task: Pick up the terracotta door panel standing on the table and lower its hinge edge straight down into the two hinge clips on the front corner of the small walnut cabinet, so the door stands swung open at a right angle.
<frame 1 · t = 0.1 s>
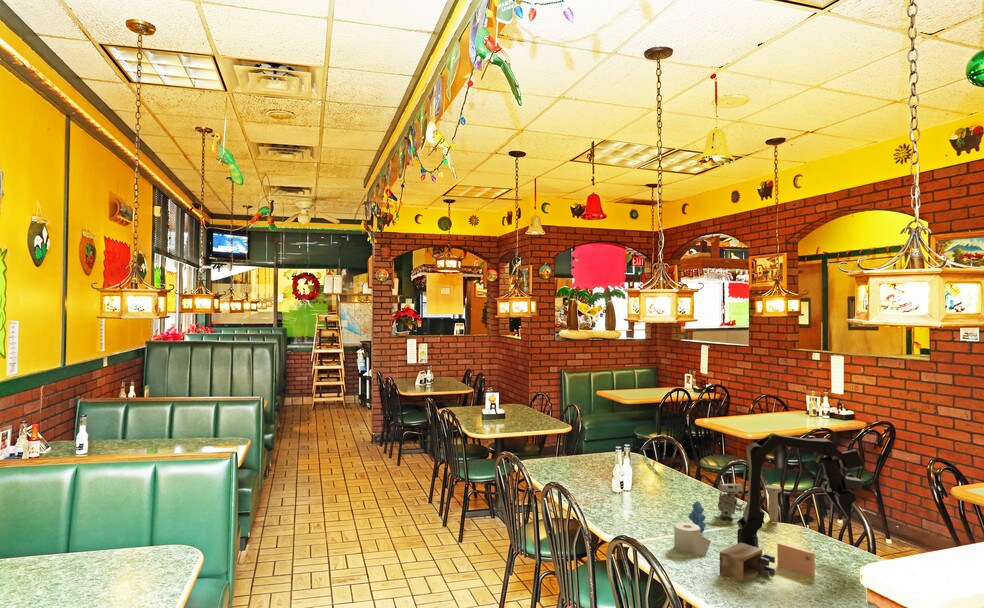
hand: (844, 513, 225), 15 cm above the table, tool pointing down, fingers open, 9 cm apart
handle: (773, 521, 262), on the table
hinge clips: (766, 574, 207), on the table
cabinet: (741, 573, 207), on the table
cabinet door: (795, 570, 211), on the table
toilet tissue: (690, 550, 228), on the table
grapes: (696, 531, 249), on the table
figurine: (731, 518, 266), on the table
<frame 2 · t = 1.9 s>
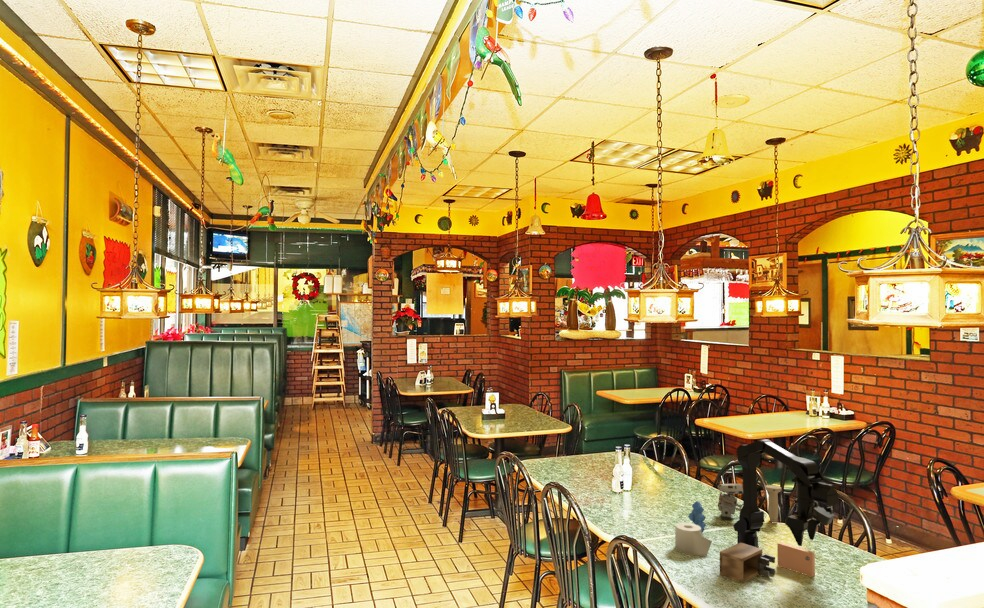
hand: (805, 542, 208), 11 cm above the table, tool pointing down, fingers open, 9 cm apart
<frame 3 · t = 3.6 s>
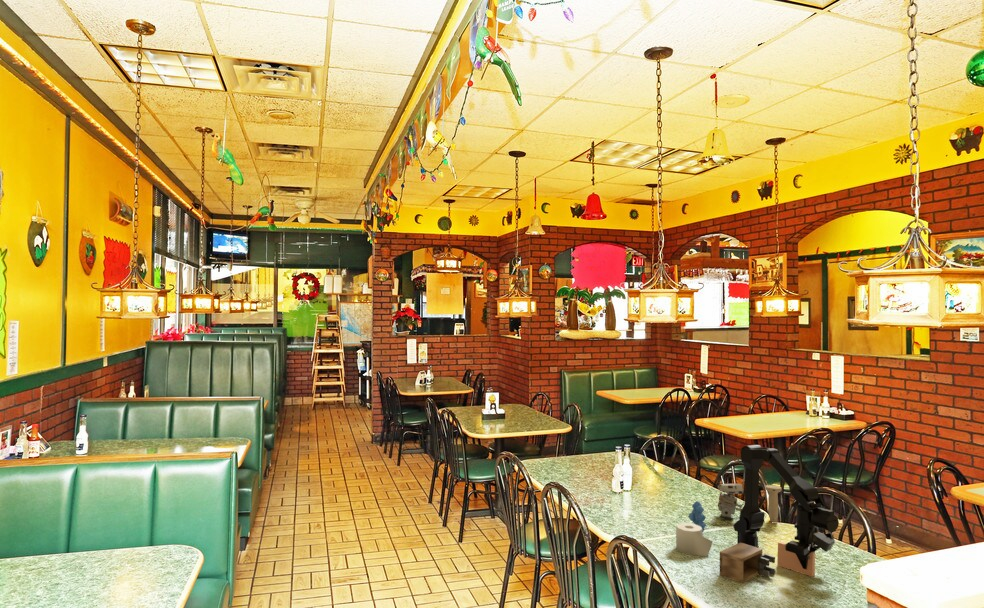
hand: (806, 567, 208), 2 cm above the table, tool pointing down, fingers closed on cabinet door, 2 cm apart
cabinet door: (795, 570, 211), on the table, touching gripper
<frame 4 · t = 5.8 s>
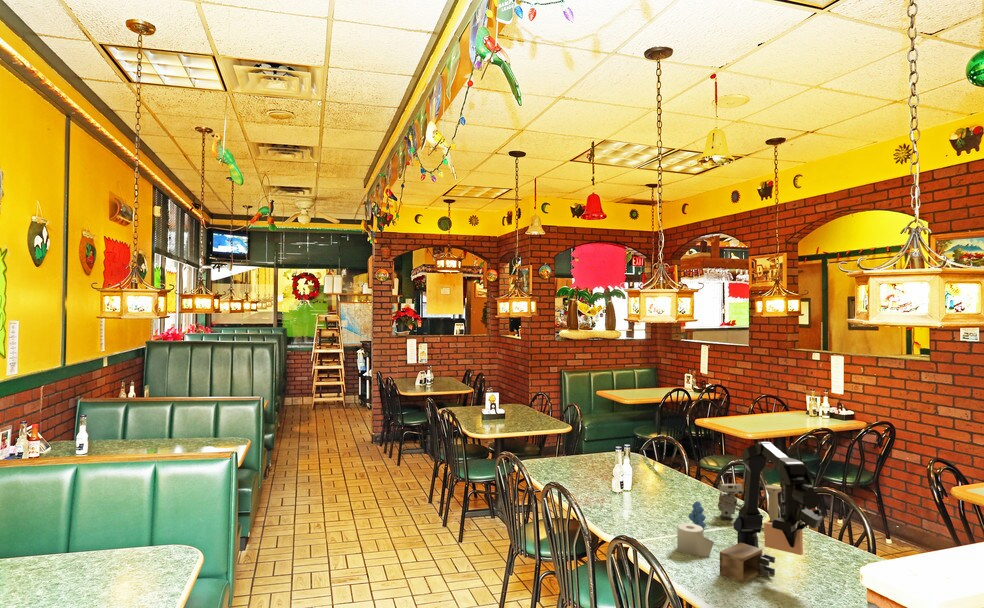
hand: (793, 546, 201), 12 cm above the table, tool pointing down, fingers closed on cabinet door
cabinet door: (783, 550, 203), point 10 cm above the table, tilted 7°, touching gripper
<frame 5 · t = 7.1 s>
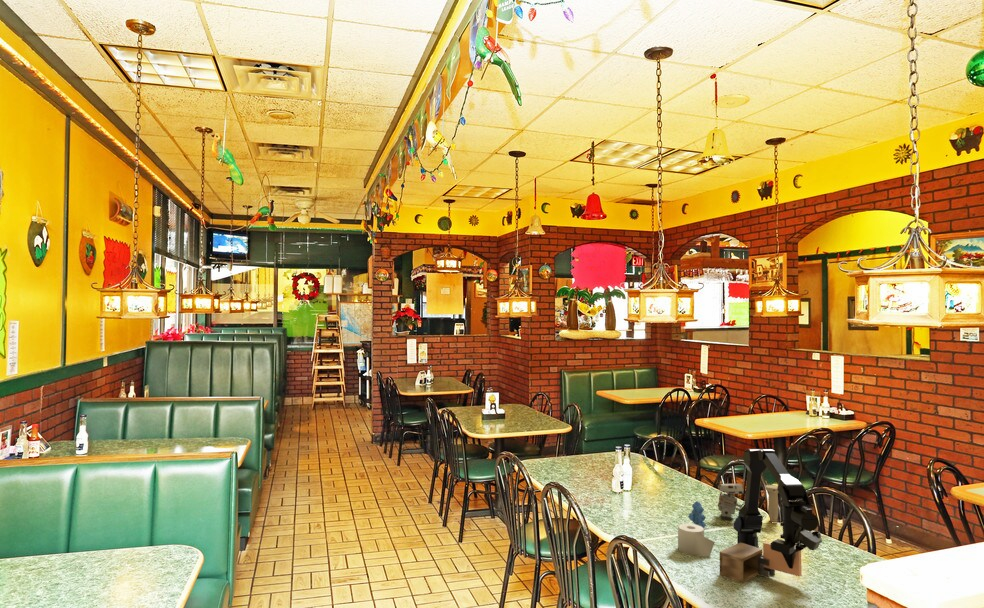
hand: (792, 567, 200), 5 cm above the table, tool pointing down, fingers closed on cabinet door
cabinet door: (782, 571, 203), point 3 cm above the table, tilted 6°, touching gripper
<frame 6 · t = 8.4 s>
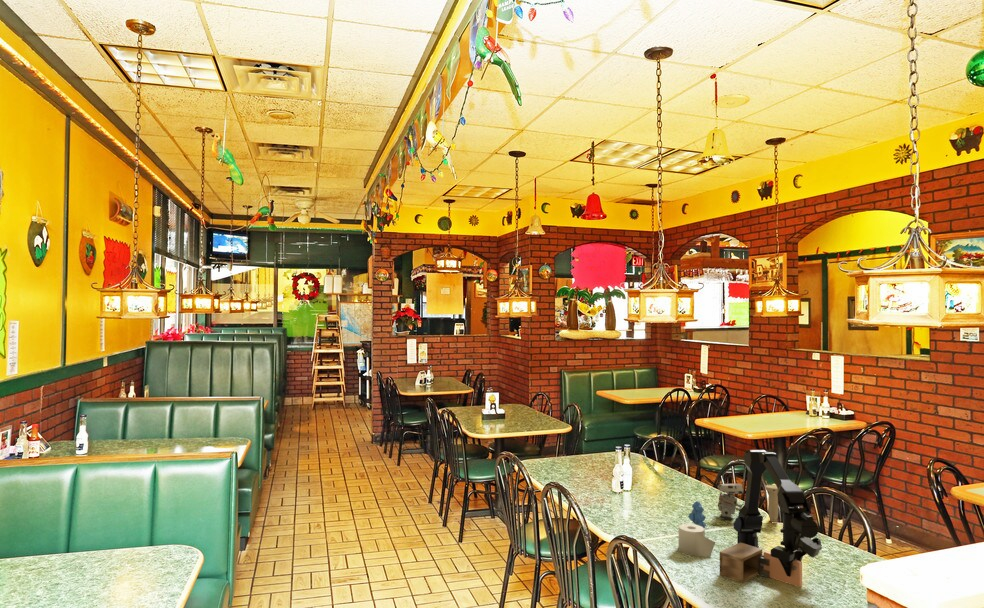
hand: (792, 574, 200), 3 cm above the table, tool pointing down, fingers open, 5 cm apart
cabinet door: (782, 580, 202), on the table
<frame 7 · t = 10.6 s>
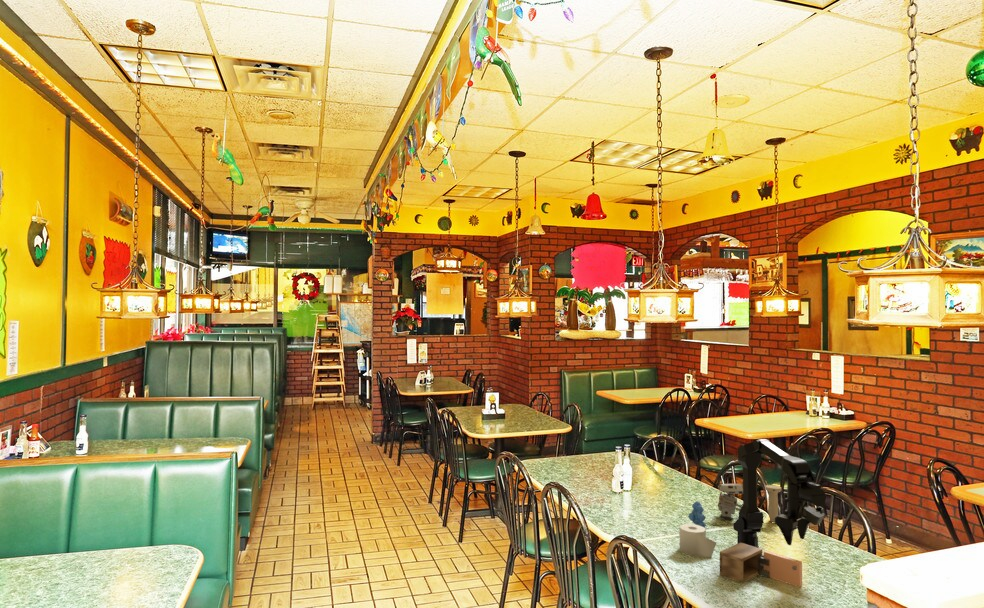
hand: (795, 541, 207), 12 cm above the table, tool pointing down, fingers open, 9 cm apart
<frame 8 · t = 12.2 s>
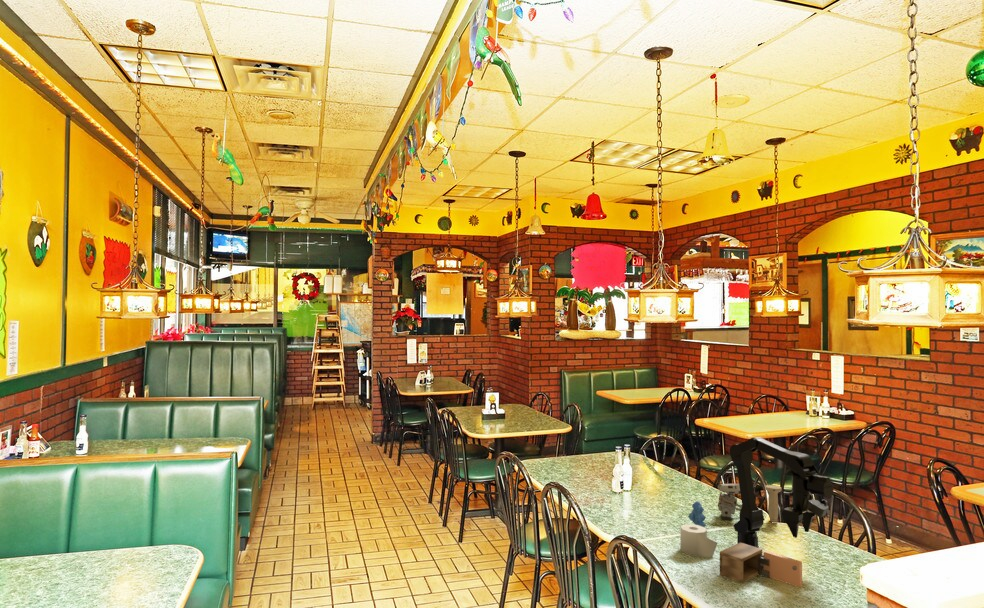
hand: (801, 534, 212), 12 cm above the table, tool pointing down, fingers open, 9 cm apart
at the end: cabinet door 0.4 cm from the target spot, on the table; cabinet door tilted 0°; the gripper is holding nothing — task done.
